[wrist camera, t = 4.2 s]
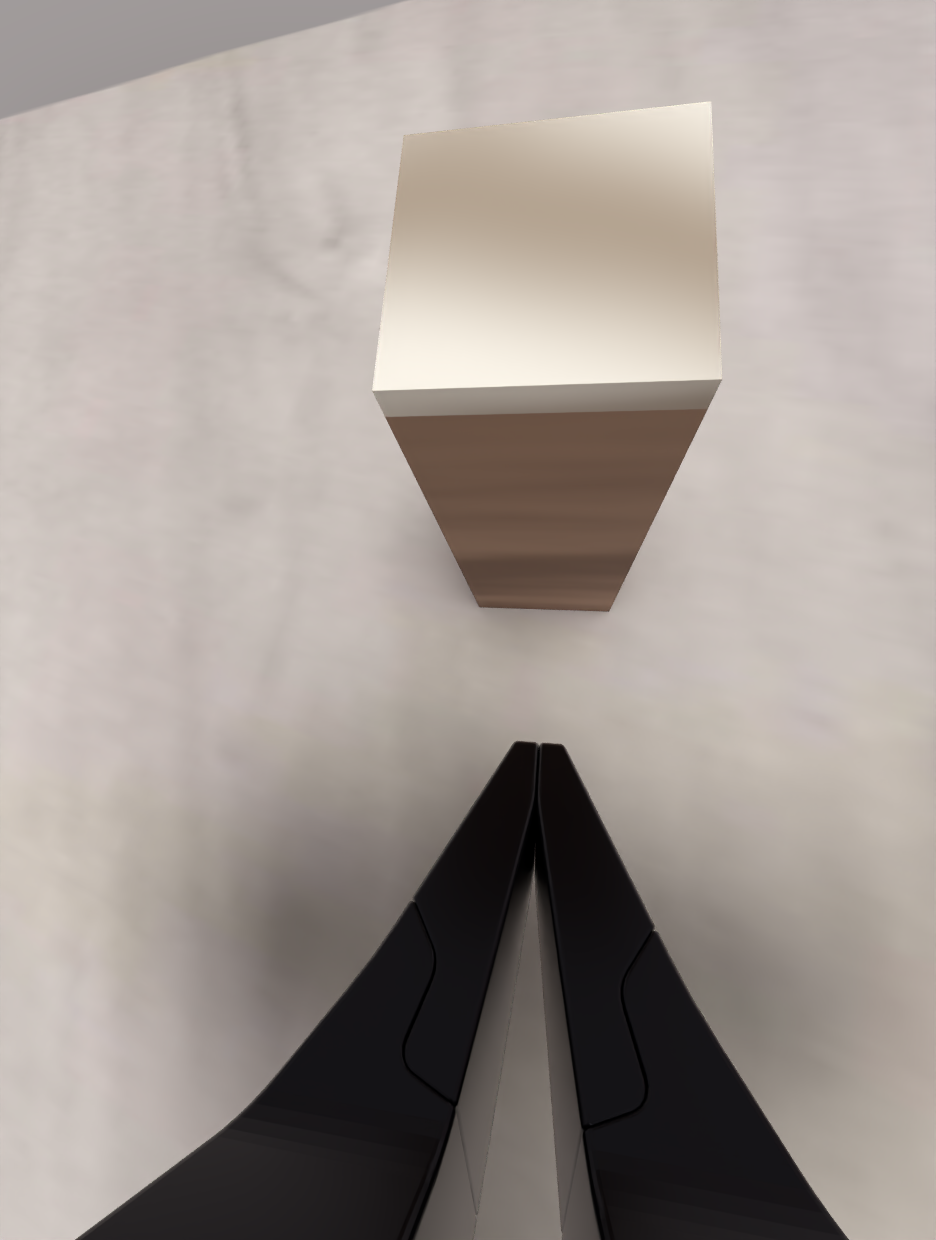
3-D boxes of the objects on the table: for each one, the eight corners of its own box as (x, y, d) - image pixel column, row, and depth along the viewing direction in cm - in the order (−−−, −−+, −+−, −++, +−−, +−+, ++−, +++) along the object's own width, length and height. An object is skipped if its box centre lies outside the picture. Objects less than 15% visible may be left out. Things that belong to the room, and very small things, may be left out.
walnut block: (609, 611, 18) (721, 379, 6) (479, 607, 19) (372, 390, 7) (610, 490, 19) (711, 101, 7) (487, 491, 20) (403, 135, 8)
